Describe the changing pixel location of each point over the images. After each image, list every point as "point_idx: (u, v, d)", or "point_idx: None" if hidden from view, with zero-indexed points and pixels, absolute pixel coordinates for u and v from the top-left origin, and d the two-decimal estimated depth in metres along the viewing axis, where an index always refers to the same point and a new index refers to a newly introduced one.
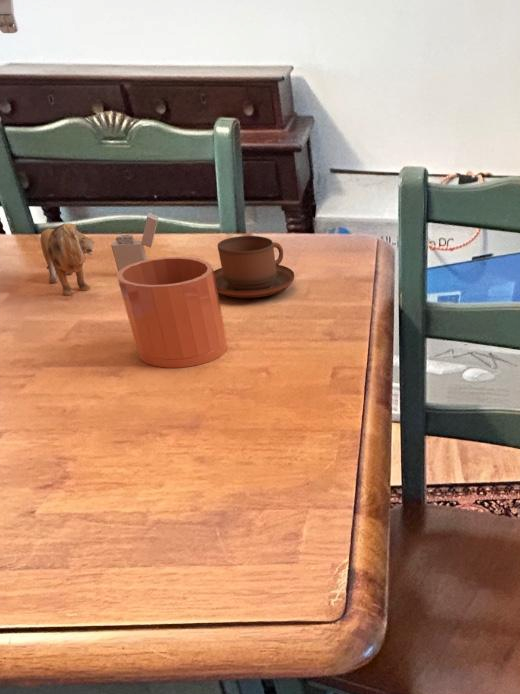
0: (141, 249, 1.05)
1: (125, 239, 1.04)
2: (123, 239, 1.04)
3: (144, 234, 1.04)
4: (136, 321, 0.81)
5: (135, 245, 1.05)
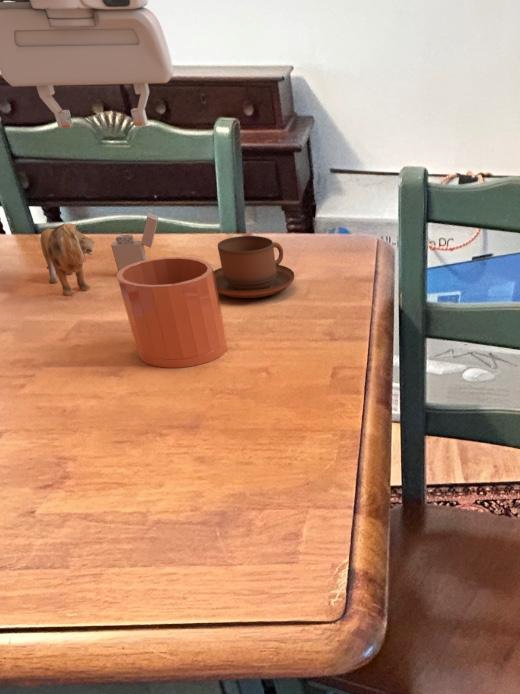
0: (141, 249, 1.05)
1: (125, 239, 1.04)
2: (123, 239, 1.04)
3: (144, 234, 1.04)
4: (136, 321, 0.81)
5: (135, 245, 1.05)
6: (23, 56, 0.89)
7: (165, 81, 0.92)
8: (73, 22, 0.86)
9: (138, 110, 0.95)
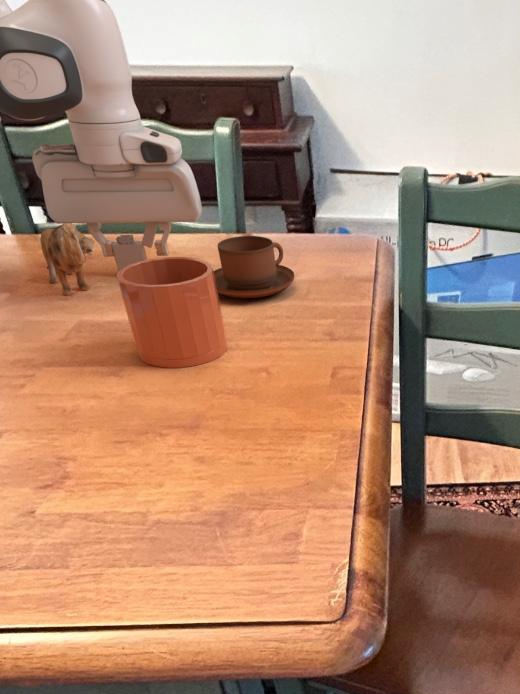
0: (141, 250, 1.05)
1: (125, 239, 1.04)
2: (123, 239, 1.04)
3: (145, 234, 1.04)
4: (136, 321, 0.81)
5: (135, 245, 1.05)
6: (69, 199, 0.99)
7: (195, 220, 1.03)
8: (116, 174, 0.97)
9: (161, 243, 1.05)
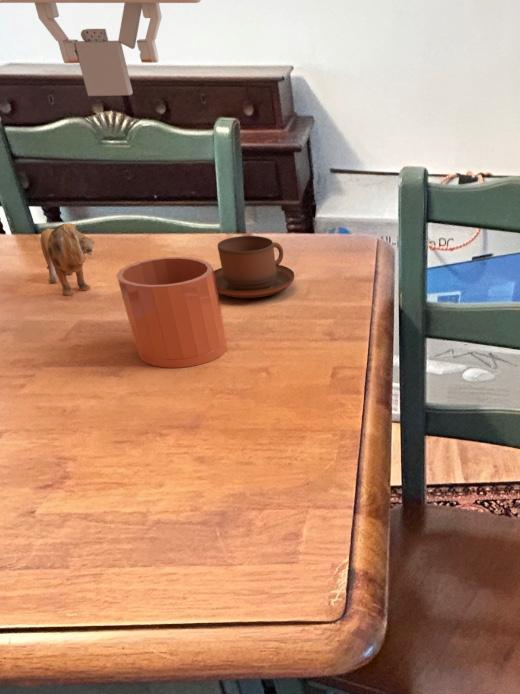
0: (118, 51, 0.72)
1: (95, 34, 0.71)
2: (92, 33, 0.71)
3: (122, 25, 0.71)
4: (136, 321, 0.81)
5: (110, 44, 0.71)
6: None
7: (195, 0, 0.70)
8: None
9: (147, 40, 0.72)
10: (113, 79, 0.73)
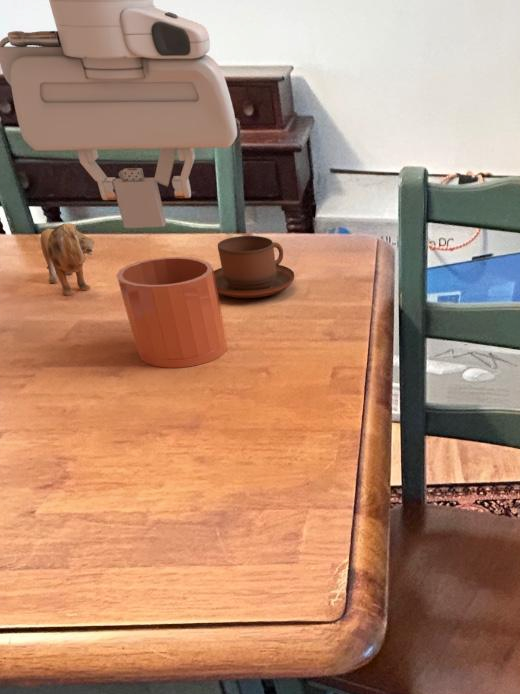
0: (154, 189, 0.76)
1: (132, 174, 0.75)
2: (129, 174, 0.75)
3: (158, 167, 0.75)
4: (136, 321, 0.81)
5: (146, 183, 0.75)
6: (51, 114, 0.70)
7: (228, 145, 0.74)
8: (117, 74, 0.67)
9: (181, 179, 0.75)
10: (148, 213, 0.77)
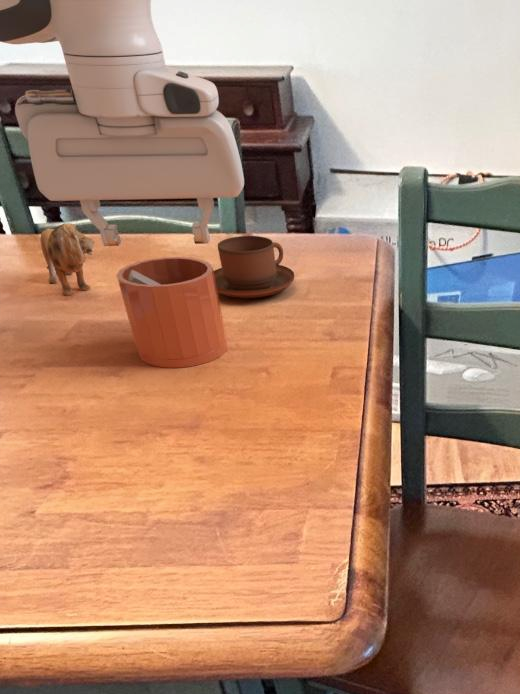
0: None
1: None
2: None
3: None
4: (136, 321, 0.81)
5: None
6: (66, 167, 0.73)
7: (235, 195, 0.77)
8: (129, 131, 0.70)
9: (200, 227, 0.79)
10: None
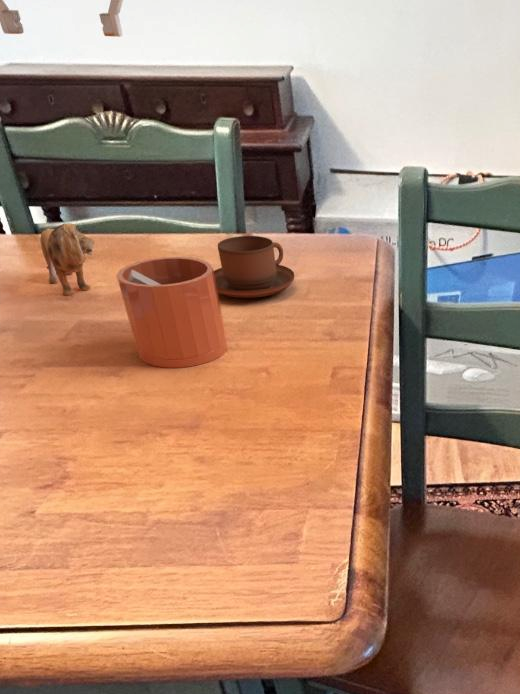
0: None
1: None
2: None
3: None
4: (136, 321, 0.81)
5: None
6: None
7: None
8: None
9: (109, 14, 0.72)
10: None
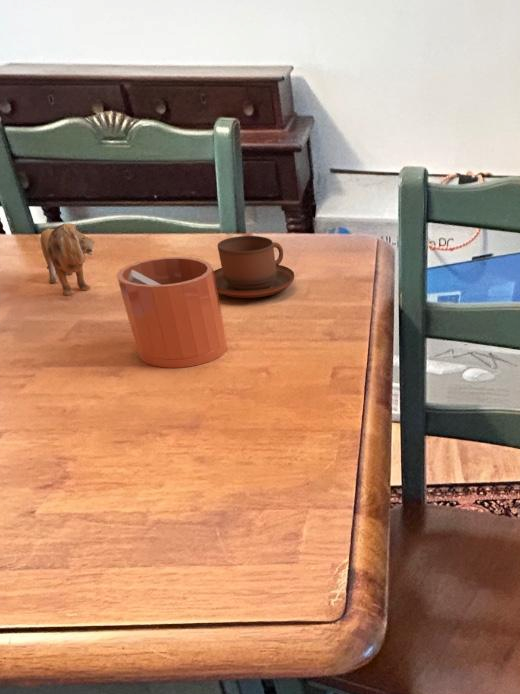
0: None
1: None
2: None
3: None
4: (136, 321, 0.81)
5: None
6: None
7: None
8: None
9: None
10: None
